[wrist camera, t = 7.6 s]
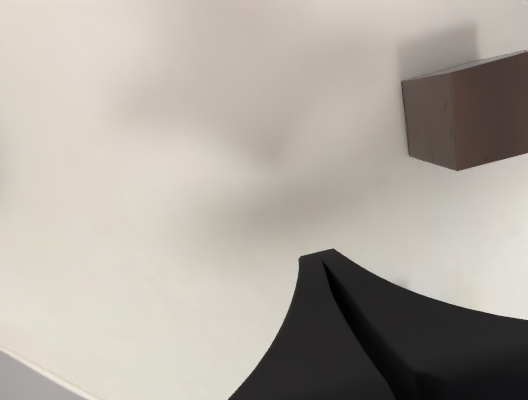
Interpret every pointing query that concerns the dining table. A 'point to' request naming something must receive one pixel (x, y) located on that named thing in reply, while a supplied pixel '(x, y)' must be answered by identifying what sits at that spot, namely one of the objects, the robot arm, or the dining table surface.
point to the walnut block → (469, 112)
